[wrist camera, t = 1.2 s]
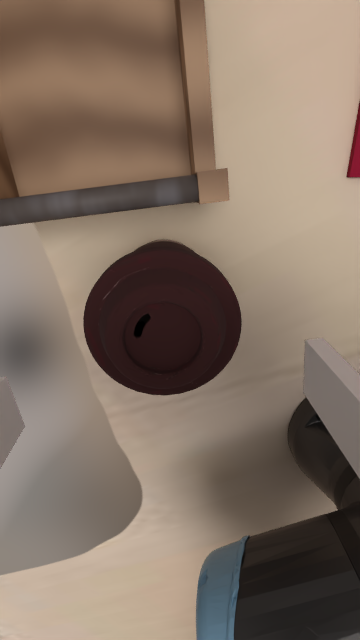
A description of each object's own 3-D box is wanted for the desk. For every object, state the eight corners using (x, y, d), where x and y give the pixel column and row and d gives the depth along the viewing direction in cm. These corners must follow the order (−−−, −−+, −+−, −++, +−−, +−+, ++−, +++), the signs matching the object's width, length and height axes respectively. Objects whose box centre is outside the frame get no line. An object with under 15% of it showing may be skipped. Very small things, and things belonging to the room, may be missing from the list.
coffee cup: (230, 294, 34) (273, 369, 20) (146, 336, 36) (133, 433, 22) (185, 204, 31) (201, 221, 17) (95, 255, 32) (40, 309, 18)
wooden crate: (208, 195, 30) (229, 200, 20) (14, 219, 31) (-62, 236, 20) (177, -201, 21) (186, -552, 11) (-98, -162, 22) (-335, -473, 11)
